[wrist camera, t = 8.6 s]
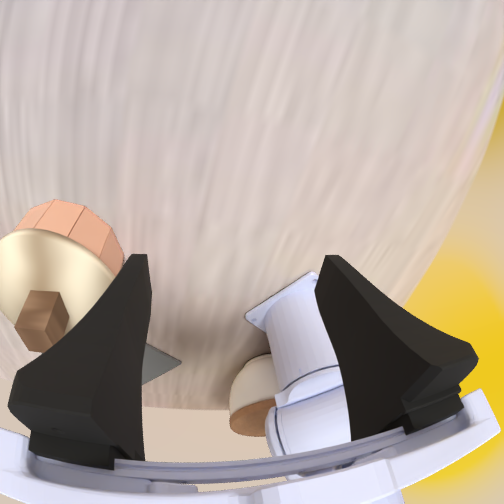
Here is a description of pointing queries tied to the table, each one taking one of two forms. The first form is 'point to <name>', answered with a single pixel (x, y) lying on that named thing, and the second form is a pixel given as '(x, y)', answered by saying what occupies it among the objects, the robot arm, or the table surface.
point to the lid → (48, 284)
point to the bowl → (77, 229)
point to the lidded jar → (253, 396)
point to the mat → (156, 363)
